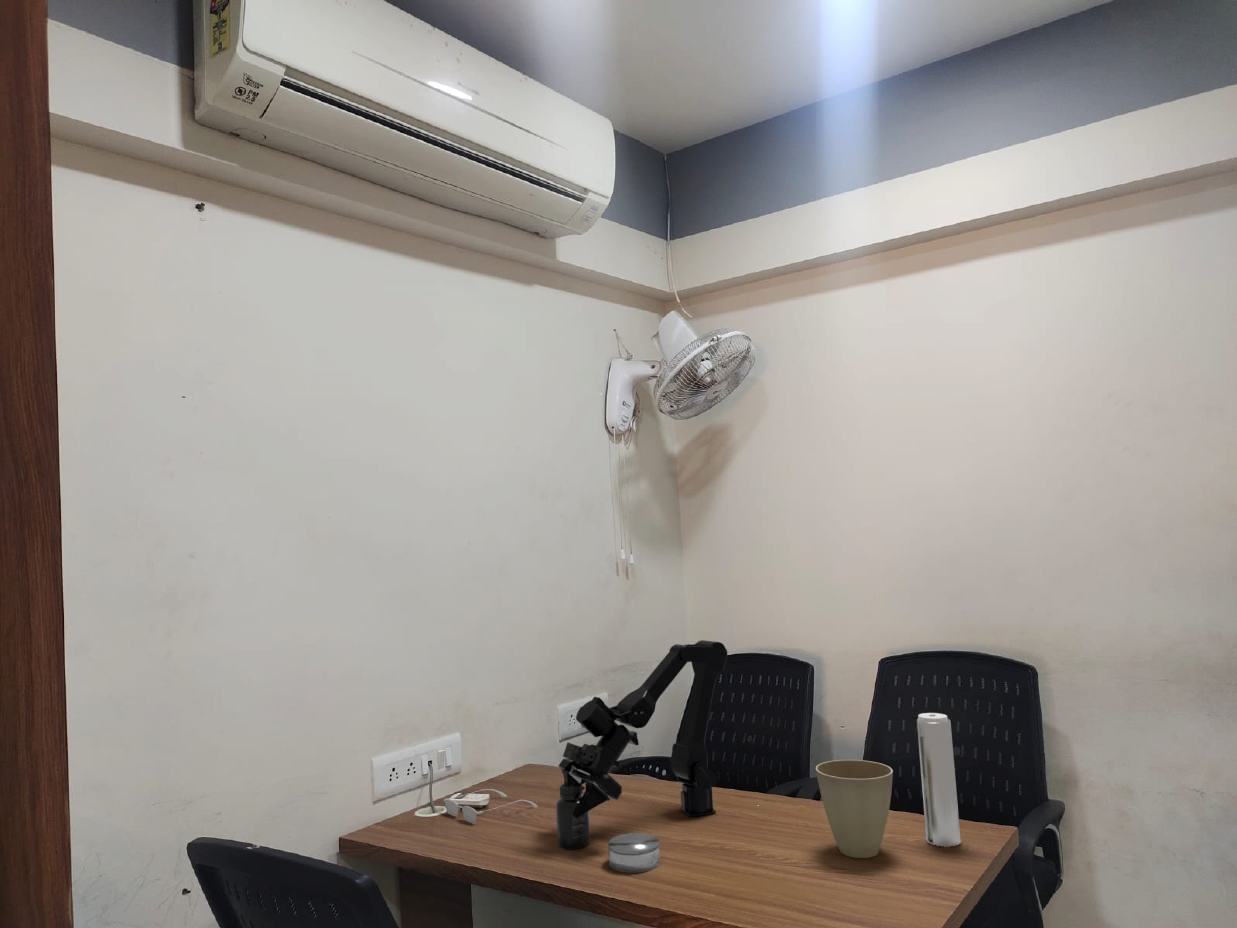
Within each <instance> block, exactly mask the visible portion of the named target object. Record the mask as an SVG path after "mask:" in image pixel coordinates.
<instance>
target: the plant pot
mask: <svg viewBox="0 0 1237 928" xmlns="http://www.w3.org/2000/svg"><path fill="white" fill-rule="evenodd" d="M815 771H816V772H815V773H816V777H817V781H818V787H819V793H820V796H821V799H822V803H823V807H824V810H825V814H826V817H827V820H828V824H829V827H830V829H831V832H832V835H833V838H834V840H835V843H836V845H837V847H838V849H839V851H840V853H841V854H843V856H844V855H845V856H847V857H850V858H856V859H868V858H872V857H873V858H874V857H875V856H877V855H878V854H879V851H880V849H881V845H882V842H883V839H884V835H885V830H886V827H887V822H888V817H889V813H890V806H891V799H892V788H893V776H894V775H893V774H894V769H892V768H891V767H890V766H889V765H886V764H884V763H880V762H876V761H870V760H863V759H862V760H861V759H836V760H830V761H825V762H821V763H818V764H817V765H816V766H815Z"/></svg>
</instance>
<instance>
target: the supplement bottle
mask: <svg viewBox="0 0 1237 928" xmlns="http://www.w3.org/2000/svg"><path fill="white" fill-rule="evenodd" d="M582 786H583V784H580V783H566V784H564V783H562V784H561V785H560V786H559V799H557V801H556V803H555V814H556V830H557V832H556V833H557V842H558V846H559V847H560V848H562V849H568V850H574V849H580V848H584V847H586V846H588V845H589V844H590V842H591V832H590V817H589V814H590V813H589V811H588V812H586V813H585V814H583V815H581V816H580V817H578V818H575V817H574V816H573V813H574V811H575V809H576V807H577V805H578V804H579V802H580V800H581V798H582V796H583V795H584V790H583V791H582ZM560 796H561V798H560Z"/></svg>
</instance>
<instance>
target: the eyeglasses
mask: <svg viewBox="0 0 1237 928" xmlns="http://www.w3.org/2000/svg"><path fill="white" fill-rule="evenodd" d="M482 791H493V792H496V793H497V794H499V795H500V797H501V798H506V797H508V795H506V794H505V793H504V792H502V791H499V790H496V789H492V788H484V789H479V790H476V791H473V792H469V793H465V794H462V795H458V796H455V797H452V798H449V797H448V798H445V799H443V802H444V805H445V809H446V812H447V815H450V816H452V817H455V818H457V817H458V814H459V813H461V812H460V811H462V816H463V819H464V821H465V822H467V823H469V824H470V823H471V824H472V825H475V823H476V821H477V816H478V815H482V814H483V813H484V812H488V811H490V810H495V809H498V808H502V807H505V806H508V805H512V804H516V803H518V802H526V803H528V804H529V805H530V806H531V807H532V808H533V809H535V808H538V804H536V803H534V802H532V801H530V800H525V799H518V800H515V801H513V802H510V803H507V804H503V805H501V806H497V807H494V808H493V807H492V808H490V809H487V810H480V811H477V810H476V809H475V808H473V807H471V806H468V805H463V806H461V805H459V804H458V803H457V802H456V801H454V799H456V798H459V797H462V796H466V795H470V794H473V793H476V792H482ZM452 799H453V800H452ZM461 809H462V810H461Z"/></svg>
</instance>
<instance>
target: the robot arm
mask: <svg viewBox="0 0 1237 928" xmlns="http://www.w3.org/2000/svg"><path fill="white" fill-rule="evenodd" d="M727 659H728V649H727V648H726V646H725V645H724V643H722V642H719V641H714V640H704V639H702V640H698V641H697V642H696V643H693V644H677V643H676V644H674V645H672V646H671V647H670V648H669V651H668V653H667V654H666V655H665V656H664V658H663V659H662V660H661V661H660V662H659V664H658V665H657V666H656V667H655V668H654V670H653V671H652V672H651V673H650V675H649V676H648V677H647V678H646V680H645V681H644V682H643V683H642V684H641V685H640V686H639V687H638V688H637V689H635V690H633V691H631V692H630V693H628V694H627V695H625V696H624V697H623V698H622V699H621V700H620V701H619V702H618V704H617V705H614V706H612V707H609V706H607V705H606V704H605V702H604V700H602V698H601V697H598V696H593V698H592V699H591V700H589V701H587V702H586V703H584V705H582V706H580V708H579V709H578V711H577V713H576V716H575V719H576V722H578V723H579V724H580V725H581V726H582V727H583V728H584V729H585V730H586V731H588V733H589V734H591V735H592V736H593V737H594V738H599V737H600V739H598V741H597V743H596V744H587V743H584V744H583V745H582V746H580V745H577V744H574V743H572V742H567V743H566V746H565V749H564V752H563V754H562V758H563V759H562V760H561V761H560V763H559V764H558V768H559V769H560V770H561V774H562V775H563V781H564V782H563V784H566V783H580V784H582V791H583V794H582V798H581V800H580V802H579V804H578V805H577V807H576V809H575V811H574V813H573V816H574V817H575V818H578V817H580V816H581V815H583V814H585V813H586V812H588V813H589V811H591V810H593V809H595V808H596V807H598V806H600V805H602V804H603V803H605V802H607V801H608V802H609V801H611V799H613V800H615V801H618V800H619V799H620V797H621V795H622V793H623V788H622V785H621V784H620V783H619V782H617V781H616V780H615V779H614V778H613V776H611V775H610V773H611V770H612V769H613V768H619V766H620V763H619V759H620V757H621V756H622V754H623V753H624V751H625V750H626V748H627V746H628V745H629V744H632V745H633V746H639V738H638V732H637V731H633V730H631V731H630V730H629V729H628V728H627V727H626V726H628V727H631V728H634V729H643V728H645V727H646V726H647V725H648V724H649V722H650V720H651V718H652V716H654V713H655V711H656V707H657V705H656V704H657V702H658V700H659V698H660V697H662V695H663V693H664V692H665V691H666V690H667V688H668V687H669V686H670V685H671V683H672V682H673V681H674V680H675V678H676V677H677V676H678V675H679V673H680V672H681V671H682V670H683V668H684V667H685V666H686V665H687V664H688V663H691V667H692V671H693V674H694V680H693V684H692V685H693V686H692V690H691V696H690V701H689V707H688V712H687V713H688V714H687V717H686V723H685V728H684V733H683V738H682V739H681V740H680V742H679V743H673V744H672V749H671V756H670V758H669V762H670V767H671V771H672V772H673V774H674V775H675V776H676V779H677V781H678V783H682V784H681V785H682V790H681V791H680V805H681V807H680V810H681V811H683V812H684V813H685V814H686V815H687V816H688V817H693V818H694V817H699V816H708V815H712V814H713V815H714V814H717V811H716V809H714V803H713V801H714V800H713V788H714V787H716V786H717V781H718V776H717V775H716V774H715V773H714V771H712V770H711V769H710V768H709V766H708V762H709V759H708V757H709V755H708V752H707V747H706V743H705V740H706V735H707V729H708V724H709V718H710V714H711V713H710V711H711V708H712V707H711V706H712V702H713V694H714V691H715V684H716V680H717V679H718V678H719V676H720V675H721V673H722V672H723V670H724V668H725V665H726V662H727ZM615 721H616V722H615ZM617 722H619V723H620V724H618V723H617ZM584 784H585V786H584ZM584 790H585V791H584ZM609 797H610V798H609ZM560 798H561V796H560V795H559V799H560Z"/></svg>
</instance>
